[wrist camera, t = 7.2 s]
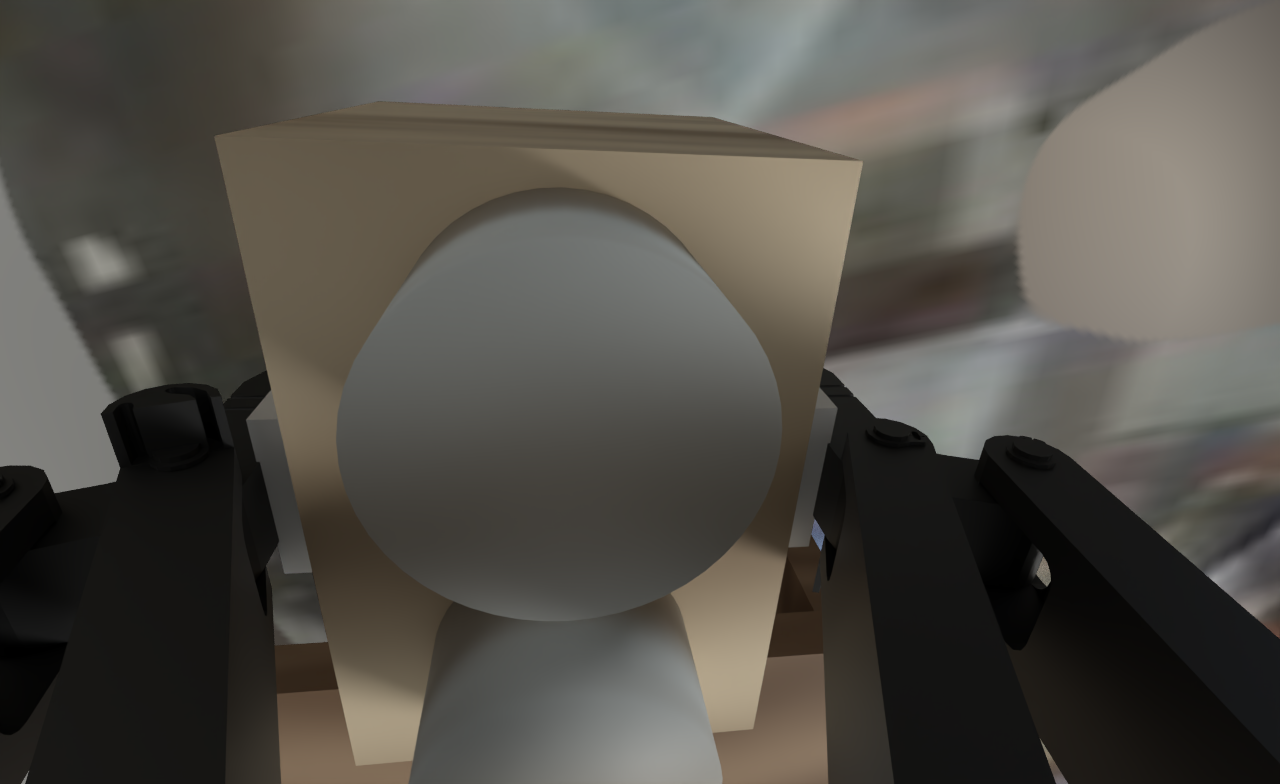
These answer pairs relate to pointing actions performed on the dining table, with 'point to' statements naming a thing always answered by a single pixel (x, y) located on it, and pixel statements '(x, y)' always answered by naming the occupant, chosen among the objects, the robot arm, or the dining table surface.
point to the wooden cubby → (750, 759)
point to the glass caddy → (542, 419)
